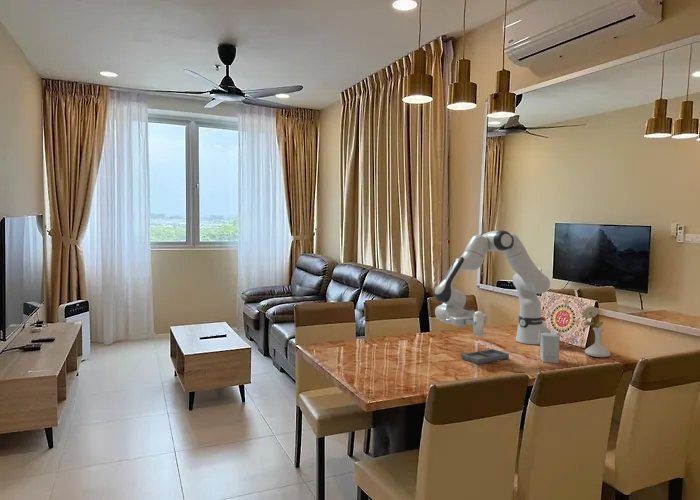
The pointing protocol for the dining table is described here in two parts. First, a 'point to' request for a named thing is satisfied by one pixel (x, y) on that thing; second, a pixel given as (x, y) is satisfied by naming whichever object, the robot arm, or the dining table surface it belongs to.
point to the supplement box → (549, 347)
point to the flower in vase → (597, 347)
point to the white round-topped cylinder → (478, 323)
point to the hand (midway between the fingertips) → (479, 322)
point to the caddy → (485, 356)
